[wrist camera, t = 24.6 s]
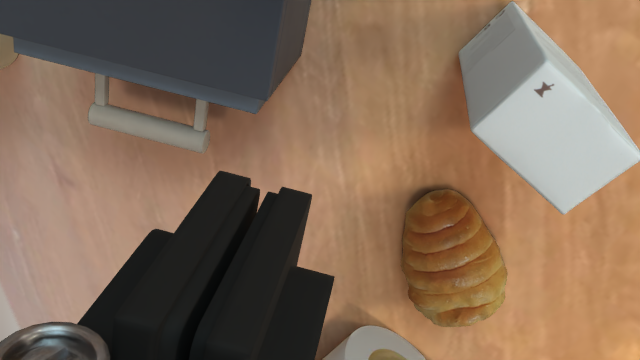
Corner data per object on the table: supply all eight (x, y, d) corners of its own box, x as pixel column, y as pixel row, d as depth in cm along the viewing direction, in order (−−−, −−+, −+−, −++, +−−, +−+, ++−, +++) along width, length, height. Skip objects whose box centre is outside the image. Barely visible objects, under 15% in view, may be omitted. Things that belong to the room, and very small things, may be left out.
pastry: (383, 195, 40) (379, 224, 37) (484, 174, 39) (489, 202, 35) (417, 305, 44) (416, 340, 41) (511, 290, 42) (518, 326, 39)
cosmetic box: (455, 53, 35) (465, 128, 25) (511, -2, 33) (548, 54, 23) (525, 120, 36) (563, 220, 26) (584, 70, 35) (650, 156, 24)
